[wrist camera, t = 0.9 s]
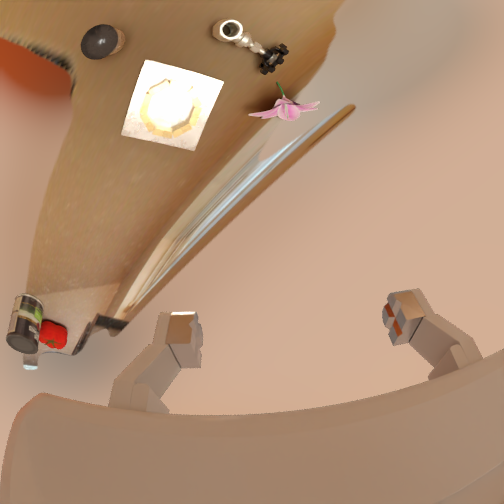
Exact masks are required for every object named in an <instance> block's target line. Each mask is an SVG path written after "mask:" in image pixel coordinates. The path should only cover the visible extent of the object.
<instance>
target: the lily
mask: <svg viewBox="0 0 504 504" xmlns="http://www.w3.org/2000/svg"><path fill="white" fill-rule="evenodd" d="M276 83H277V84H278V86H279V88H280V90H281V92H282V95H283V98H282V99H278V100H277V101H276V103H275V105H274V107H273V109H271V110H268V111H264V112H258V113H252V114H248V115H250V116H259V117H261V116H263V117H262V119H264V118H270V117H275V116H279V118H281V119H283V120H287V121H293V120H296V119H298V118H299V116H300V112H304V111H312V110H317V108H313V107H314V106H316V105H318V104H319V103H320V102H313V103H309V104H303V105H300V104H298V103H296V102H294V101H292V100H290V99H287V98H286V97H285V95H284V92H283V90H282V88H281V86H280V85H279V83H278V82H276Z"/></svg>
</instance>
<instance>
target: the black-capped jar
mask: <svg viewBox="0 0 504 504" xmlns="http://www.w3.org/2000/svg"><path fill="white" fill-rule="evenodd" d="M124 43H125V35H124V33H123V32H122V31H121V30H119V29H116V28H113V27H112V26H110V25H104V24H103V25H97V26H95V27H93V28H91V29H90V30H89V31H87V33H86V34H85V35H84V37H83V39H82V42H81V50H82V52H83V54H84V55H85V56H86V57H87V58H90V59H101V58H104V57H106V56H108V55H111V54H114V53H116V52H118V51H119V50H120V49H121V48H122V47H123V46H124Z"/></svg>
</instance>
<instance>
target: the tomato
mask: <svg viewBox="0 0 504 504" xmlns="http://www.w3.org/2000/svg"><path fill="white" fill-rule="evenodd" d="M39 340H40V342H41V343H45V344H44V345H47V346H49V347H50V348H57V349H62V348H63V347H64V346H65V345H66V343H67V330H66V329H65V328H64V327H62V326H60V325H55V324H54V323H52V322H50V321H44V322H42V323H41V327H40V334H39Z"/></svg>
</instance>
